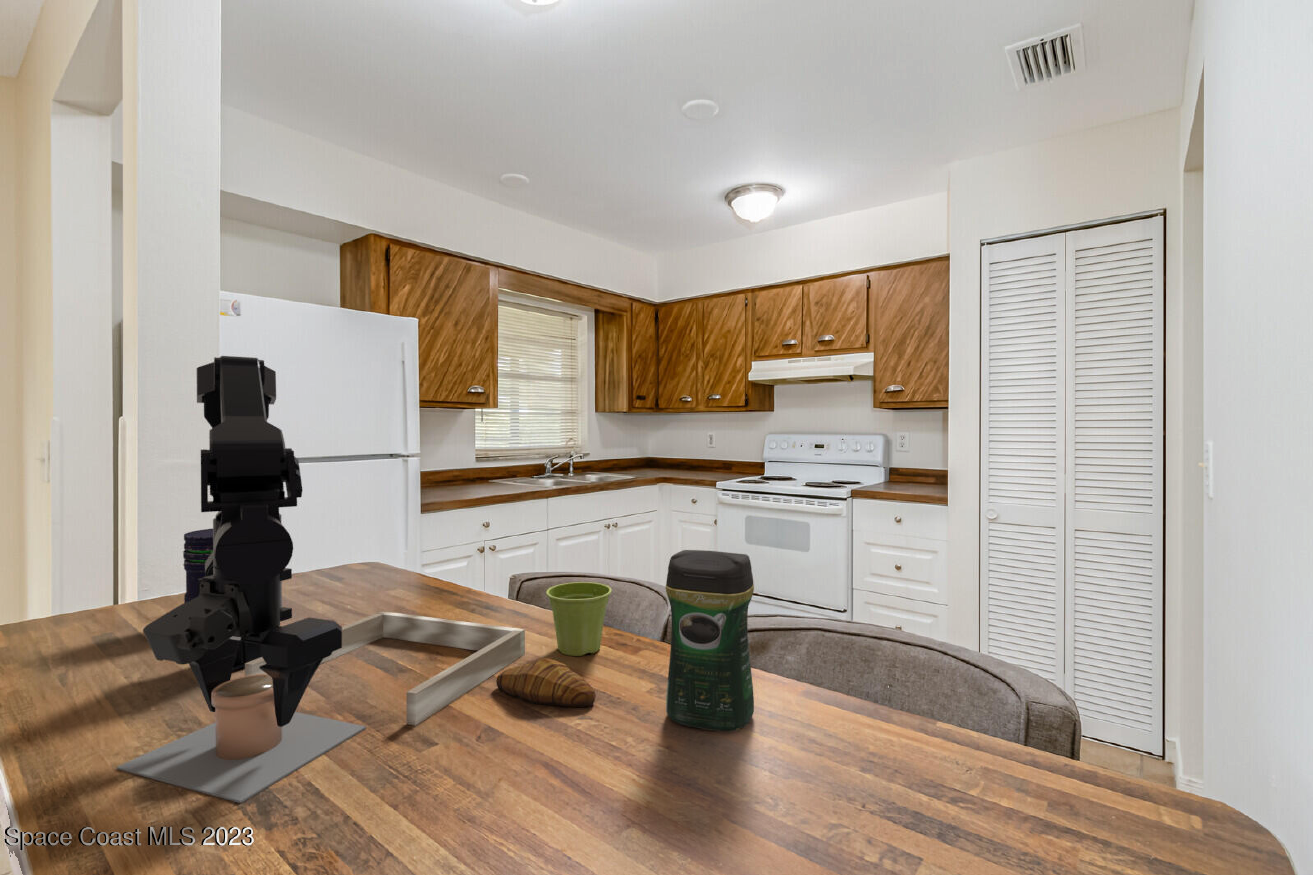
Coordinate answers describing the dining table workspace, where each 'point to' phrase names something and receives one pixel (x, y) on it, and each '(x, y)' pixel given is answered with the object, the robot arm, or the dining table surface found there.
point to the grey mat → (241, 778)
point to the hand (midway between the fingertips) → (249, 717)
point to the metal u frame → (450, 684)
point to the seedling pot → (245, 717)
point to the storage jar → (196, 559)
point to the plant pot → (579, 615)
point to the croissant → (547, 684)
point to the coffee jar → (710, 640)
